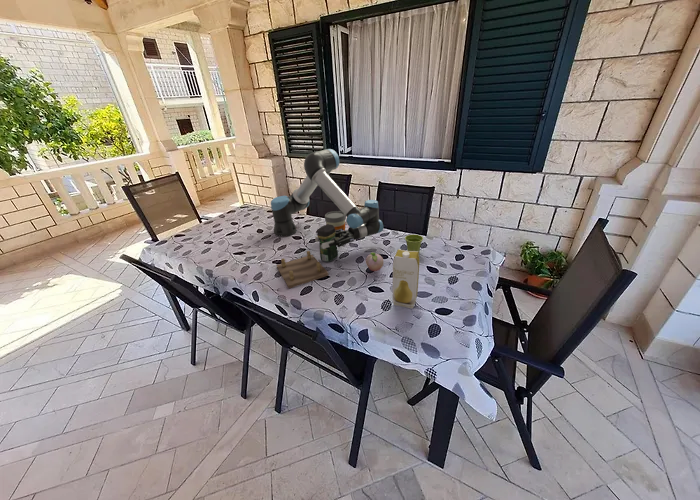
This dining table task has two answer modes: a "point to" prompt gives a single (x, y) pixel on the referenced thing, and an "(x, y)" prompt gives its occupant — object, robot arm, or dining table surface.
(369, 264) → the decorative fruit
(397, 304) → the juice carton
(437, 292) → the dining table surface
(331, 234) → the coffee jar
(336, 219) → the reusable coffee cup
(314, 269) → the standoff base
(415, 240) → the plant pot
